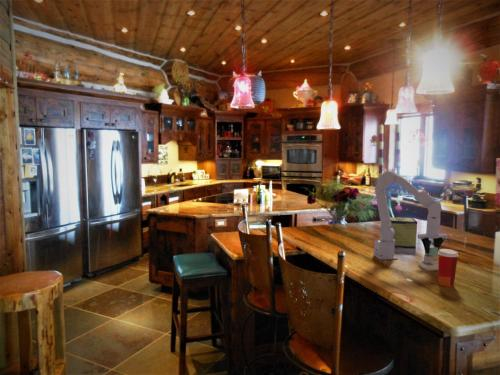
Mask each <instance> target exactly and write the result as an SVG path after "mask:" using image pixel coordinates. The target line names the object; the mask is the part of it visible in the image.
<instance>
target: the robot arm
mask: <svg viewBox="0 0 500 375" xmlns="http://www.w3.org/2000/svg"><path fill="white" fill-rule="evenodd" d="M392 183H393V185H397V186H401V187H403V189H405V190H407V192H409V193H410V194H412V195H413V199H414V200H415V201H416V202H418V203H419V204H420V205H421V206H423V207H424V208H427V211H428V212H427V213H428V214H427V216H426V231H425V233H420V234H417V239H418V240H420V241H421V243H422V244H423V248H424V249H423V250H424V254H425V253H427V254H429V250H430V246H431V245H432V242H433V246H435V247H438V251H439V250H440V249H441V246H442V244H443V243H444V242H445V239H447V240H448V234H446V233H440V228H441V212H442V209H443V208H442V204H441V202H439V200H436V197H432V196H431V195H430V194H429V193H428V191H427V190H424V189H417V188H416V187H415V186H414V185H413V184H411V183H410V182H409V181H408V180H407V179H406V178H404V177H403V176H402V175H400V174H399V173H396V172H395V171H394V170H392V169H390V170H389V169H388V170H386V171H385V172H383V173H382V174H381V175H380V176H379V177H378V180H377V182H376V184H375V187H374V191H375V192H374V193H375V199H376V202H377V203H376V204H377V208H378V215H379V220H380V234H379V236H380V237H379V239H378V240H375V241H374V245H373V246H374V247H373V254H372V255H373V257H375V258H377V259H378V260H398V259H399V258H398V257H396V256H395V239H394V238H393V237H394V234H395V230H394V228H393V227H392V223H391V220H390V217H391V216H390V210H389V204H388V199H387V194H386V190H387V188H388V187H389V186H390V185H392ZM431 239H432V240H433V241H432V240H431Z"/></svg>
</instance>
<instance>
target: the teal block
mask: <svg viewBox="0 0 500 375" xmlns="http://www.w3.org/2000/svg"><path fill="white" fill-rule="evenodd" d="M438 252H439V250H438V247H435V246H434V244H433V245H432V244H430V250H429V254H427V253H425V252H424V255H432V256H434V259H438Z"/></svg>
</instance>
